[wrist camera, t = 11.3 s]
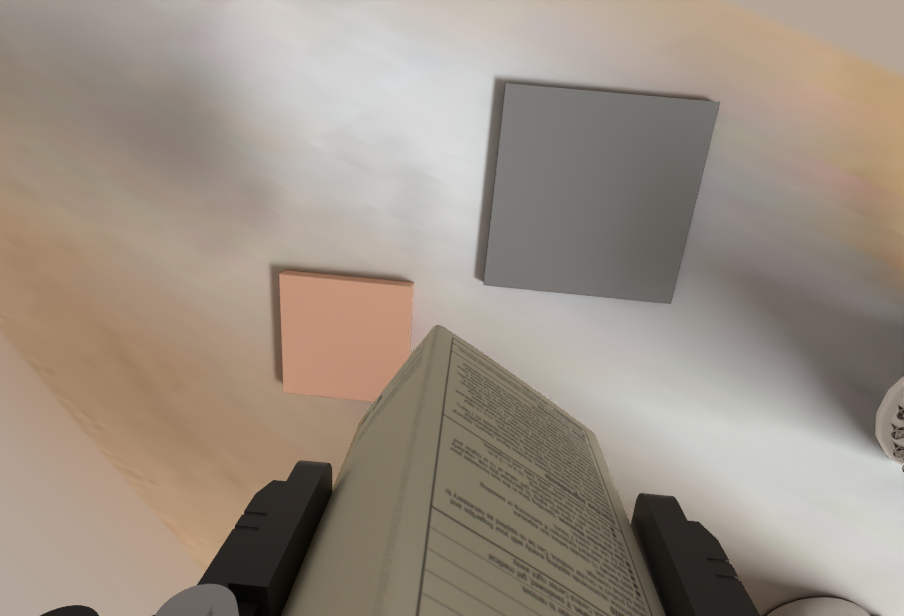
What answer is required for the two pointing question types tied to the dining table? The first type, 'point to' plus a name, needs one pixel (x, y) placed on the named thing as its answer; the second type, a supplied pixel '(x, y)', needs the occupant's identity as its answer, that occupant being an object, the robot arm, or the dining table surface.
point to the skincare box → (471, 505)
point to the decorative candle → (892, 423)
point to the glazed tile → (343, 333)
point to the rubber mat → (595, 191)
